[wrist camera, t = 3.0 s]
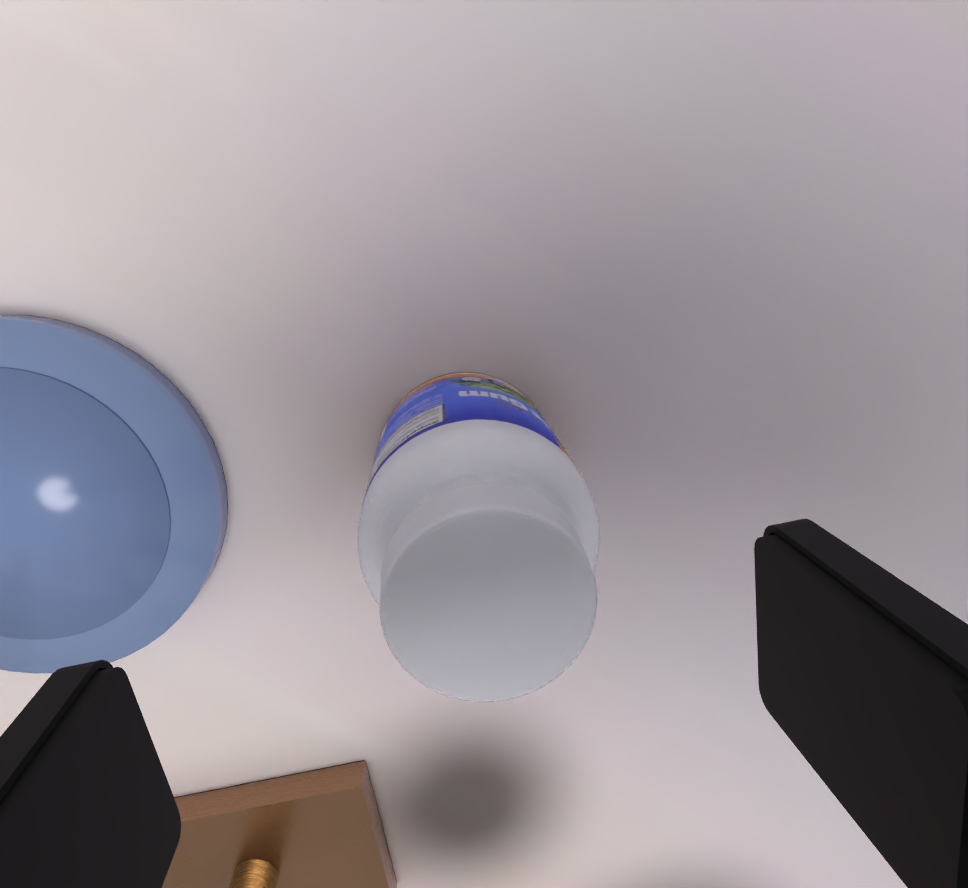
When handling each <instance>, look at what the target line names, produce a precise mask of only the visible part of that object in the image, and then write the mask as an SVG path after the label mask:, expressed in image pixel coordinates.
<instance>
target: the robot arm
mask: <svg viewBox="0 0 968 888" xmlns="http://www.w3.org/2000/svg"><path fill="white" fill-rule="evenodd" d="M754 551H755V582H756V614H757V645H758V676H759V690H760V694H761V697H762V700H763V703H764V705H765V707H766V709H767V710H768V712H769V713H770V714H771V716H772V717H773V718H774V719H775V721H776V722H777V723H778V724H779V726H780V727H781V728H782V730H783V731H784V732H785V733H786V735H787V736H788V737H789V738H790V740H791V741H792V742H793V743H794V745H795V746H796V747H797V748H798V750H799V751H800V752H801V754H802V755H803V756H804V757H805V759H806V760H807V761H808V762H809V764H810V765H811V766H812V767H813V769H814V770H815V771H816V773H817V774H818V775H819V776H820V778H821V779H822V780H823V781H824V783H825V784H826V785H827V786H828V788H829V789H830V790H831V791H832V793H833V794H834V795H835V797H836V798H837V799H838V800H839V802H840V803H841V804H842V805H843V807H844V808H845V809H846V810H847V812H848V813H849V814H850V815H851V817H852V818H853V819H854V821H855V822H856V823H857V824H858V826H859V827H860V828H861V829H862V831H863V832H864V833H865V834H866V836H867V837H868V838H869V839H870V841H871V842H872V843H873V845H874V846H875V847H876V848H877V850H878V851H879V852H880V853H881V855H882V856H883V857H884V858H885V860H886V861H887V862H888V863H889V865H890V866H891V867H892V869H893V870H894V871H895V872H896V874H897V875H898V876H899V877H900V879H901V880H902V881H903V882H904V884H905V885H906V886H907V887H908V888H968V624H966V623H965V622H963V621H962V620H960V619H959V618H957V617H956V616H954V615H953V614H951V613H950V612H948V611H947V610H945V609H944V608H942V607H941V606H939V605H938V604H936V603H935V602H933V601H931V600H930V599H928V598H927V597H925V596H924V595H922V594H921V593H919V592H918V591H916V590H915V589H913V588H912V587H910V586H909V585H907V584H906V583H904V582H903V581H901V580H900V579H898V578H897V577H895V576H894V575H892V574H891V573H889V572H888V571H886V570H885V569H883V568H882V567H880V566H879V565H877V564H876V563H874V562H873V561H871V560H870V559H868V558H867V557H865V556H864V555H862V554H861V553H859V552H858V551H856V550H855V549H853V548H852V547H850V546H849V545H847V544H846V543H844V542H843V541H841V540H840V539H838V538H837V537H835V536H834V535H832V534H830V533H829V532H827V531H826V530H824V529H823V528H821V527H820V526H818V525H817V524H815V523H814V522H812V521H810V520H808V519H801V520H796V521H791V522H786V523H781V524H776V525H771V526H768V527H767V528H766V529H765V532H764V534H763V537H760V538H758V539H757V540H756V542H755V548H754ZM180 834H181V818H180V813H179V810H178V807H177V805H176V802H175V799H174V797H173V794H172V791H171V789H170V786H169V784H168V781H167V778H166V776H165V773H164V771H163V768H162V765H161V763H160V760H159V757H158V755H157V752H156V750H155V747H154V744H153V742H152V739H151V737H150V734H149V731H148V729H147V726H146V724H145V721H144V718H143V716H142V713H141V710H140V708H139V705H138V703H137V700H136V697H135V695H134V692H133V690H132V687H131V684H130V682H129V679H128V676H127V675H126V673H125V671H124V670H123V669H122V668H120V667H115V668H113V666H112V665H111V664H110V663H109V662H108V661H106V660H98V661H93V662H88V663H83V664H78V665H73V666H68V667H63V668H60V669H57V670H56V671H55V672H54V673H53V674H52V675H51V676H50V677H49V679H48V680H47V681H46V682H45V684H44V685H43V686H42V687H41V688H40V690H39V691H38V692H37V693H36V694H35V696H34V697H33V698H32V699H31V700H30V702H29V703H28V704H27V705H26V707H25V708H24V709H23V710H22V711H21V713H20V714H19V715H18V716H17V717H16V719H15V720H14V721H13V722H12V724H11V725H10V726H9V727H8V728H7V730H6V731H5V732H4V733H3V734H2V736H1V737H0V888H162V885H163V883H164V880H165V878H166V875H167V872H168V870H169V867H170V864H171V862H172V859H173V856H174V854H175V851H176V848H177V846H178V843H179V839H180Z"/></svg>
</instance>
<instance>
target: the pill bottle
mask: <svg viewBox="0 0 968 888" xmlns="http://www.w3.org/2000/svg"><path fill="white" fill-rule="evenodd" d="M599 539H600V536H599V521H598V515H597V511H596V507H595V504H594V501H593V498H592V495H591V493H590V490H589V488H588V486H587V484H586V482H585V480H584V479H583V477H582V475H581V473H580V472H579V470H578V469H577V467H576V466H575V464H574V463H573V461H572V460H571V458H570V457H569V455H568V454H567V452H566V451H565V450H564V448H563V447H562V445H561V444H560V442H559V441H558V439H557V438H556V436H555V435H554V433H553V432H552V431H551V429H550V428H549V426H548V425H547V423H546V422H545V420H544V419H543V417H542V416H541V415H540V413H539V412H538V410H537V409H536V408H535V406H534V405H533V404H532V403H531V402H530V401H529V400H528V399H527V398H526V397H525V396H524V395H523V394H522V393H521V392H520V391H518V390H517V389H516V388H514V387H513V386H511V385H509V384H508V383H506V382H504V381H502V380H500V379H497V378H494V377H491V376H488V375H484V374H477V373H455V374H449V375H444V376H441V377H438V378H435V379H433V380H430V381H428V382H426V383H424V384H422V385H421V386H419V387H417V388H416V389H414V390H413V391H412V392H410V393H409V394H408V395H407V396H406V397H405V398H404V399H403V400H402V401H401V402H400V403H399V404H398V405H397V407H396V408H395V409H394V411H393V412H392V414H391V415H390V417H389V419H388V420H387V422H386V424H385V426H384V429H383V431H382V434H381V437H380V440H379V444H378V447H377V451H376V456H375V459H374V463H373V467H372V471H371V474H370V478H369V482H368V486H367V490H366V494H365V497H364V501H363V506H362V510H361V516H360V521H359V528H358V552H359V560H360V564H361V569H362V572H363V575H364V578H365V581H366V583H367V585H368V587H369V589H370V591H371V594H372V596H373V597H374V599H375V600H376V602H377V603H378V605H379V606H380V619H381V626H382V629H383V633H384V636H385V639H386V641H387V644H388V646H389V647H390V649H391V651H392V653H393V655H394V656H395V658H396V659H397V660H398V662H399V663H400V664H401V666H402V667H403V668H404V669H405V670H406V671H407V672H408V673H409V674H411V675H412V676H413V677H414V678H415V679H416V680H418V681H419V682H420V683H422V684H423V685H425V686H427V687H429V688H430V689H432V690H434V691H436V692H438V693H441V694H443V695H446V696H449V697H453V698H456V699H460V700H466V701H479V702H494V701H501V700H507V699H511V698H515V697H519V696H522V695H525V694H528V693H530V692H532V691H534V690H537V689H539V688H541V687H542V686H544V685H546V684H547V683H549V682H550V681H552V680H553V679H555V678H556V677H558V676H559V675H560V674H561V673H562V672H563V671H564V670H565V669H566V668H567V667H569V666H570V665H571V663H572V662H573V661H574V660H575V659H576V658H577V656H578V655H579V653H580V652H581V650H582V649H583V647H584V645H585V644H586V642H587V640H588V637H589V635H590V633H591V630H592V627H593V624H594V620H595V616H596V607H597V589H596V581H595V577H594V574H593V571H594V568H595V565H596V560H597V556H598V550H599Z"/></svg>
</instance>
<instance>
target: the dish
mask: <svg viewBox="0 0 968 888" xmlns="http://www.w3.org/2000/svg"><path fill="white" fill-rule="evenodd" d="M227 510H228V505H227V491H226V483H225V479H224V474H223V469H222V465H221V462H220V459H219V456H218V454H217V451H216V448H215V445H214V443H213V441H212V439H211V437H210V435H209V433H208V431H207V429H206V427H205V426H204V424H203V422H202V420H201V419H200V417H199V416H198V415H197V413H196V412H195V410H194V409H193V407H192V406H191V404H190V403H189V402H188V400H187V399H186V398H185V397H184V396H183V395H182V394H181V393H180V391H179V390H178V389H177V388H176V387H175V386H174V385H173V384H172V382H170V381H169V380H168V379H167V378H166V377H165V376H164V375H163V374H161V373H160V372H159V371H158V370H157V369H156V368H155V367H154V366H152V365H151V364H150V363H148V362H147V361H145V360H144V359H142V358H141V357H140V356H138V355H137V354H135V353H134V352H132V351H131V350H129V349H128V348H126V347H124V346H122V345H120V344H118V343H116V342H115V341H113V340H111V339H109V338H107V337H105V336H103V335H100V334H98V333H95V332H93V331H90V330H88V329H85V328H83V327H80V326H76V325H73V324H69V323H65V322H62V321H58V320H54V319H48V318H41V317H35V316H28V315H0V669H1V670H7V671H14V672H25V673H54V672H55V671H56V670H57V669H60V668H63V667H68V666H73V665H78V664H83V663H88V662H93V661H98V660H106V661H108V662H109V663H110V662H113V661H115V660H118V659H121V658H123V657H126V656H128V655H130V654H132V653H134V652H136V651H138V650H139V649H141V648H143V647H145V646H147V645H148V644H150V643H151V642H152V641H154V640H155V639H157V638H158V637H159V636H161V635H162V634H164V633H165V632H166V631H167V630H168V629H169V628H170V627H171V626H172V625H173V624H174V623H175V622H176V621H177V620H178V619H179V618H180V617H181V616H182V615H183V613H184V612H185V611H186V610H187V608H188V607H189V606H190V604H191V603H192V602H193V600H194V599H195V597H196V596H197V594H198V593H199V591H200V590H201V588H202V587H203V585H204V584H205V582H206V580H207V579H208V577H209V575H210V573H211V572H212V570H213V568H214V566H215V564H216V561H217V559H218V556H219V553H220V551H221V548H222V544H223V540H224V535H225V531H226V523H227Z"/></svg>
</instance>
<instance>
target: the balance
mask: <svg viewBox="0 0 968 888" xmlns="http://www.w3.org/2000/svg"><path fill="white" fill-rule="evenodd" d="M174 799H175V802H176V805H177V807H178V810H179V813H180V818H181V834H180V839H179V843H178V846H177V848H176V851H175V854H174V856H173V859H172V862H171V864H170V867H169V870H168V872H167V875H166V878H165V880H164V883H163V885H162V888H396V887H397V882H396V879H395V875H394V871H393V867H392V863H391V859H390V855H389V852H388V848H387V844H386V840H385V836H384V832H383V828H382V825H381V821H380V817H379V813H378V809H377V805H376V801H375V797H374V794H373V790H372V786H371V782H370V778H369V774H368V770H367V767H366V763H365V761H360V762H355V763H350V764H345V765H340V766H335V767H330V768H325V769H320V770H315V771H310V772H305V773H299V774H294V775H289V776H284V777H279V778H274V779H269V780H264V781H259V782H254V783H249V784H243V785H238V786H233V787H228V788H223V789H218V790H213V791H208V792H203V793H198V794H193V795H188V796H182V797H177V798H174Z"/></svg>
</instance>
